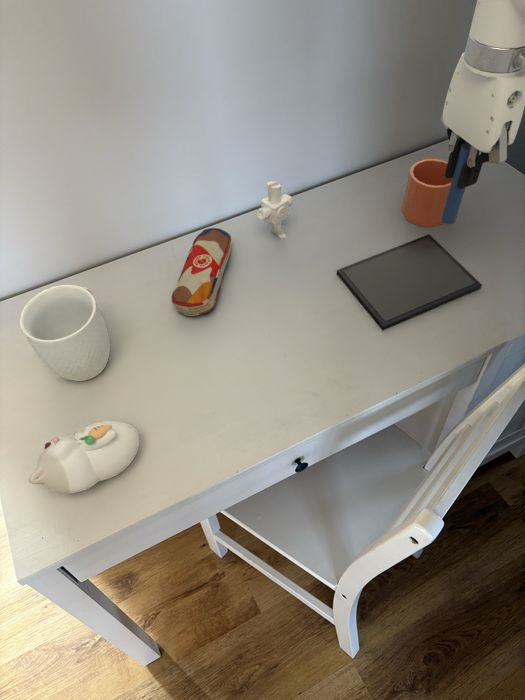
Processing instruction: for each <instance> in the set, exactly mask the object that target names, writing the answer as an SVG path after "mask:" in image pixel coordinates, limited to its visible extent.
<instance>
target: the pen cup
mask: <svg viewBox="0 0 525 700" xmlns="http://www.w3.org/2000/svg"><path fill="white" fill-rule="evenodd" d="M447 164H448V161H447V160H443V159H438V158H425V159H421V160H418V161H416V162H414V163H413V164H412V165H411V166H410V169H409V171H408V172H409V173H408V178H407V184H406V188H405V194H404V198H403V205H402V215H403V217H404V218H405V219H406V220H407V221H408V222H410V223H412V224H413V225H415V226H420V227H429V228H430V227H437V226H440V225H442V224H443V223H444V222H443V221H442V220H441V218H442V214H443V211H444V207H445V204H446V200H447V196H448V193H449V189H450V185H451V182H452V178H453V177H452V178H448V179H447V178H446V177H445V176H444V175H445V171H446V167H447Z"/></svg>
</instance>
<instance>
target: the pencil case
mask: <svg viewBox="0 0 525 700" xmlns="http://www.w3.org/2000/svg"><path fill="white" fill-rule="evenodd" d="M231 244H232V236H231V234H230V233H229V232H228V231H227V230H224V229H222V228H219V227H209V228H205V229H203V230H202V231H201V232H200V233H199V234H197V236H196V237H195V238H194V240H193V242H192V243H191V247H190V249H189V251H188V255H187V257H186V260H185V261H184V265H183V267H182V269H181V272H180V275H179V277H178V280H177V283H176V285H175V287H174V289H173V291H172V293H171V298H170V299H171V302H172V305H173V306H174V308H175V310H176V311H177V312H179V314H181V315H184V316H187V317H195V316H196V317H197V316H201V315H204V314H207V313H208V312H210V311H211V310H212V309H213V308H214V307H215V305H216V303H217V300H218V296H219V291H220V288H221V284H222V280H223V277H224V272H225V270H226V267H227V265H228V262H229V258H230V255H231V252H232V247H231Z"/></svg>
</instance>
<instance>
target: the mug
mask: <svg viewBox="0 0 525 700" xmlns="http://www.w3.org/2000/svg"><path fill="white" fill-rule="evenodd" d="M97 303H98V302H97V301H96V299H95V297H94V294H93V293H92V291H91V290H90V289H89V288H88V287H85V286H79V285H74V284H60V285H56V286H51V287H49V288H46V289H45V290H42V291H40V292H39V293H37V294H36V295H34V296H33V297H32V298H31V299H30V300H29V301H28V302H27V303H26V304H25V305H24V307H23V308H22V311H21V313H20V317H19V326H20V329H21V331H22V333H23V335H24V336H25V337H26V340H27V342H28V343H29V345H30V346H31V348H32V349H33V351H34V352H35V354H36V355H37V356H38V358H39V359H40V360H41V361H42V363H43V364H44V365H45V366H46V367H48V368H49V369H50V370H51V371H52V372H54V373H55V374H56V375H58V376H59V377H61V378H64V379H65V380H69V381H75V382H82V381H84V382H85V381H89V380H91V379H94V378H95V377H97V376H98V375H100V374H101V373H102V372H103V370H104V369H105V368H106V366H107V364H108V361H109V357H110V352H111V349H110V348H111V345H110V343H111V342H110V336H109V331H108V329H107V324H106V322H105V319H104V317H103V313H102V312H101V310H100V307H99V305H98V304H97Z"/></svg>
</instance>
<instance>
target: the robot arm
mask: <svg viewBox="0 0 525 700" xmlns="http://www.w3.org/2000/svg"><path fill="white" fill-rule="evenodd" d="M524 110H525V0H476V4H475V7H474V12H473V17H472V21H471V24H470V29H469V33H468V37H467V41H466V45H465V49H464V52H462V53H461V55H460V58H459V60H458V61H457V64H456V66H455V68H454V72H453V74H452V77H451V79H450V83H449V86H448V89H447V93H446V97H445V101H444V105H443V110H442V115H441V117H440V121H441V124H442V125H443V127H444V129H445V130H446V135H447V138H448V145H447V150H448V152H450V153H449V157H448V160H447V162H448V164H447V167H446V171H445V175H444V176H445V177H446V178H447V179H448V178H452V177H453V175H454V171H455V167H456V164H457V160H458V157H459V153H460V149H461V146H462V144H463V143H466V142H468V143H469V144H471V145H472V146H471V149H470V153H469V157H468V160H467V163H464V164H463V166H462V169H461V173H460V176H459V180H458V183H457V187H458V188H459V189H462V188H465V187H466V188H467V187H471V186H472V185H476V183H477V182H478V180H479V177H480V173H481V170H482V167H483V164H484V163H489V164H496V165H498V164H501V163H504V162H506V161H507V158H508V146H510V145H512V144H513V143H514V142H515V140H516V136H517V134H518V131H519V128H520V125H521V121H522V118H523V114H524ZM466 188H465V189H466Z"/></svg>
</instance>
